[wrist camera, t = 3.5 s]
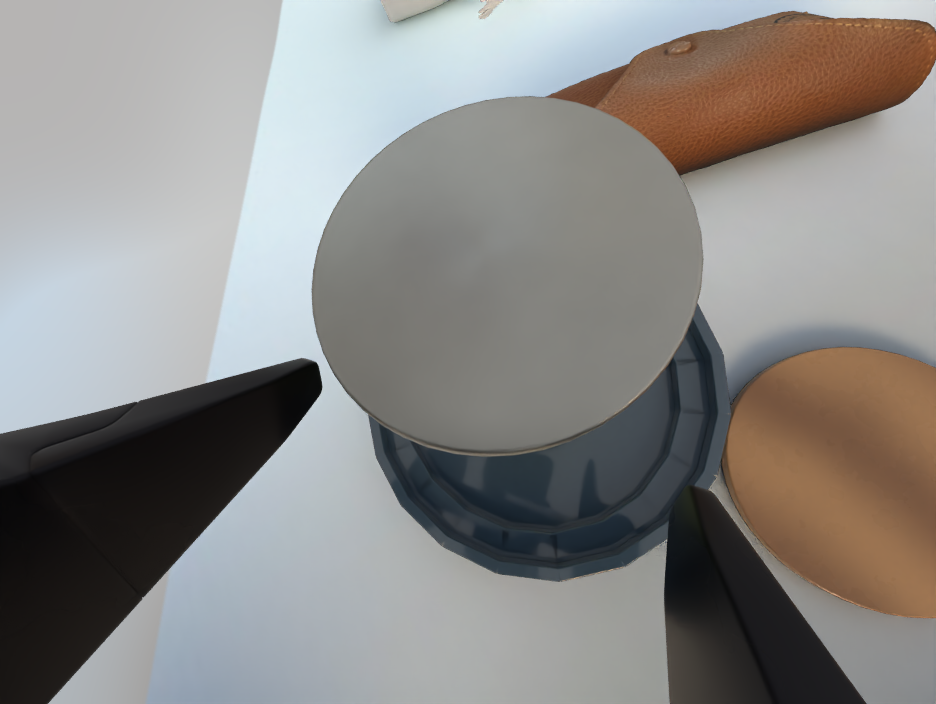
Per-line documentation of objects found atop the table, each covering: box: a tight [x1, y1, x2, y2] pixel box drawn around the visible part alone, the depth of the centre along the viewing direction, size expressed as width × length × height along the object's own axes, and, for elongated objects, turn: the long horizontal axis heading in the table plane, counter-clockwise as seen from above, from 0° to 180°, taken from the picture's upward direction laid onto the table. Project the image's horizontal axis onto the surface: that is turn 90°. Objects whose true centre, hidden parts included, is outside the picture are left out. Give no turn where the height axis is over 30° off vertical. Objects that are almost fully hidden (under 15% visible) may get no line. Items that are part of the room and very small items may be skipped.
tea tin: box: [312, 96, 703, 457], centre depth 12 cm, size 6×6×13 cm
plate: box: [368, 303, 731, 582], centre depth 17 cm, size 16×16×2 cm
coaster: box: [722, 347, 936, 618], centre depth 14 cm, size 10×10×1 cm
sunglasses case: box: [546, 11, 936, 176], centre depth 19 cm, size 18×7×7 cm, turn 104°
